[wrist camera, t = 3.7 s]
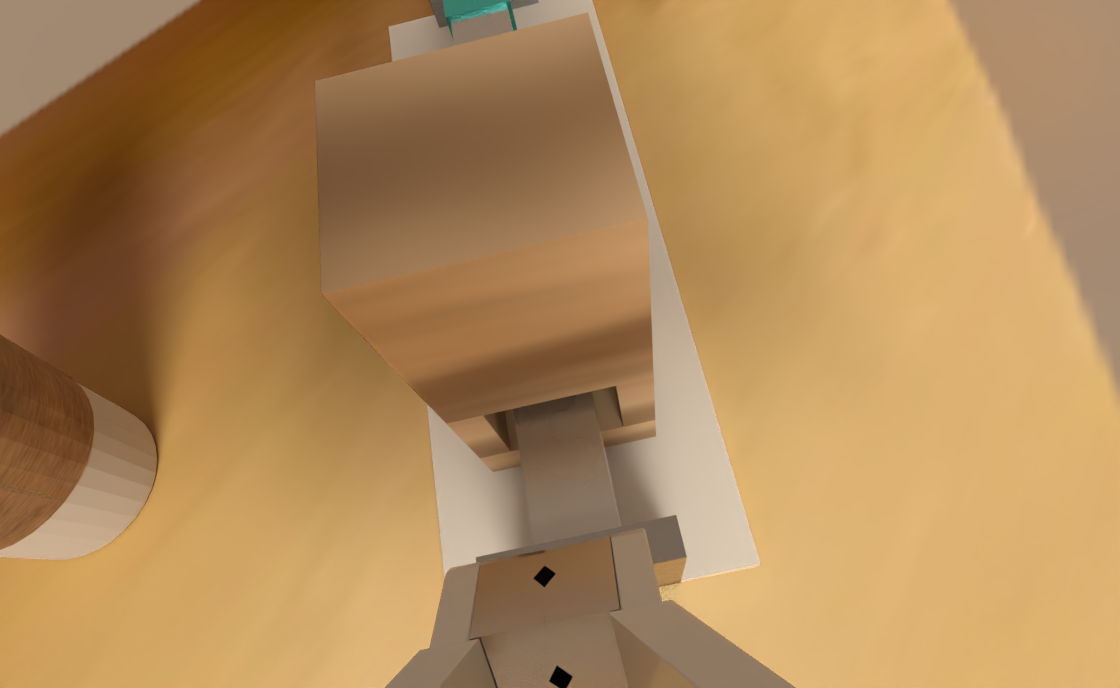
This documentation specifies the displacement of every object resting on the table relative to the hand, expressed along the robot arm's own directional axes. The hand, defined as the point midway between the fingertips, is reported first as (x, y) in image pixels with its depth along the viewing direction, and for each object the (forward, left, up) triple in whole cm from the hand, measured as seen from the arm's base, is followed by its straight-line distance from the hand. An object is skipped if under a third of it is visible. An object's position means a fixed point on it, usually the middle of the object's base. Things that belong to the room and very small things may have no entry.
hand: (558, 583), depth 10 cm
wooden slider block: (0, +8, -11) cm, 14 cm away
